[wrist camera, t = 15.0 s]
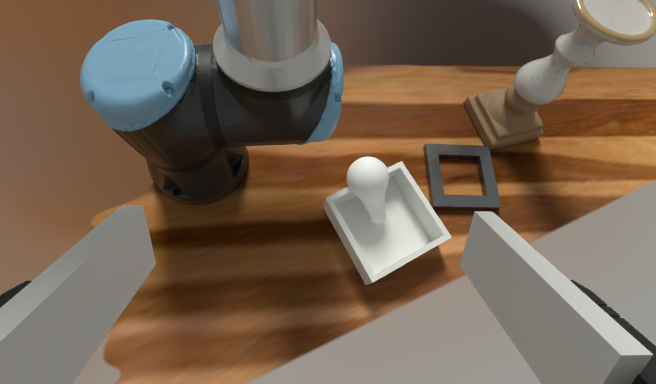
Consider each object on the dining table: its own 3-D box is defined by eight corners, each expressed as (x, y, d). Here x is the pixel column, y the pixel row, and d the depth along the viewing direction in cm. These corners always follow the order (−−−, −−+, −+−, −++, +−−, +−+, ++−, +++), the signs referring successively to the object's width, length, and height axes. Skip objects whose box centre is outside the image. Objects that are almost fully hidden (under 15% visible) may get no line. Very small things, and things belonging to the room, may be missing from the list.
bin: (323, 208, 51) (325, 197, 46) (392, 173, 54) (401, 161, 49) (365, 285, 47) (372, 282, 42) (437, 243, 50) (451, 237, 45)
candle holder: (487, 151, 57) (607, 49, 34) (462, 101, 60) (556, -20, 38) (538, 138, 59) (683, 34, 36) (511, 91, 62) (628, -31, 40)
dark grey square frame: (430, 208, 52) (433, 206, 51) (423, 147, 56) (425, 143, 55) (496, 209, 53) (501, 207, 52) (484, 149, 57) (488, 146, 56)
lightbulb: (407, 221, 47) (392, 154, 42) (373, 239, 45) (354, 172, 41) (385, 207, 52) (369, 146, 48) (354, 223, 51) (335, 162, 46)
